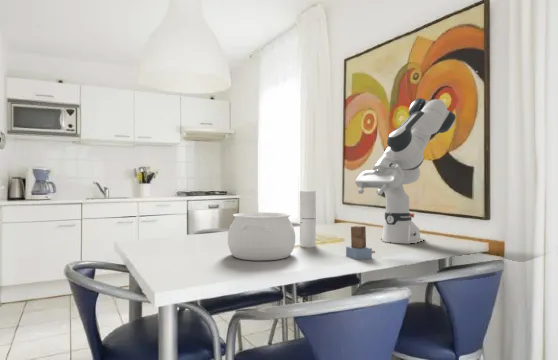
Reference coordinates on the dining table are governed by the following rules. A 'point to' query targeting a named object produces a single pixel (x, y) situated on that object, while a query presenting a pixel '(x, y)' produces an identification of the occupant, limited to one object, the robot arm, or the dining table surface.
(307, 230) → the cylindrical container
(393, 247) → the dining table surface
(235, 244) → the pot
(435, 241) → the dining table surface
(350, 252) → the slate block
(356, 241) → the walnut block
